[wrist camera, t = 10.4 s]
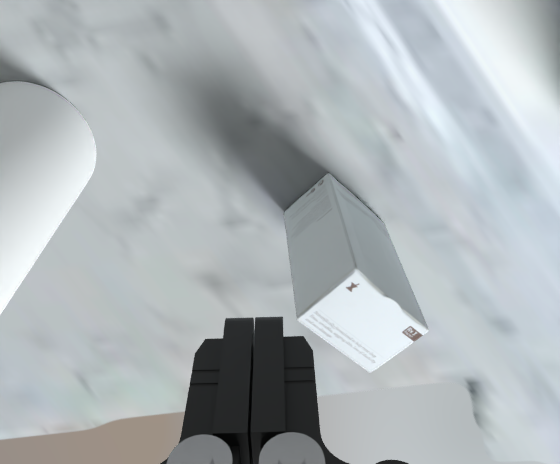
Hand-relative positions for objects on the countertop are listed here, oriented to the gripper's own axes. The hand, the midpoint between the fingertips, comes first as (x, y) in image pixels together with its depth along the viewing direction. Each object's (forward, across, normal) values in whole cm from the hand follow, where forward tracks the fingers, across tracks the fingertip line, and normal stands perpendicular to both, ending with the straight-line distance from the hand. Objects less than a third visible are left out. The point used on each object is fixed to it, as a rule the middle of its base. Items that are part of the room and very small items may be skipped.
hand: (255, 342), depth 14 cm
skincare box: (+32, -6, +15) cm, 36 cm away
